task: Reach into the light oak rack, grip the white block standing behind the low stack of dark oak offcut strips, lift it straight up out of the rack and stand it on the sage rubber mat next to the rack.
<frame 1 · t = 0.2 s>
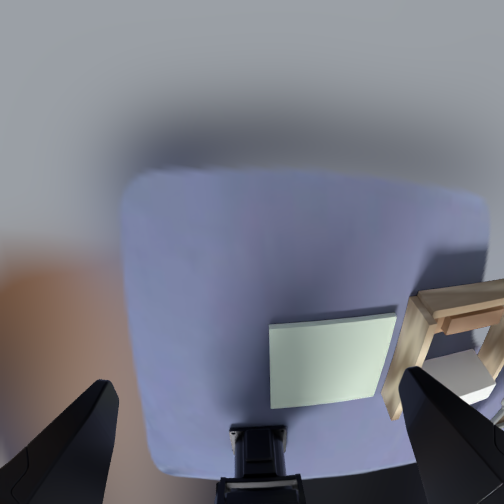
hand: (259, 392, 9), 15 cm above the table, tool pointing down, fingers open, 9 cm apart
offcut stack: (460, 304, 26), resting in rack
white block: (439, 363, 30), on the table
mat: (328, 364, 28), on the table
rack: (449, 340, 28), on the table
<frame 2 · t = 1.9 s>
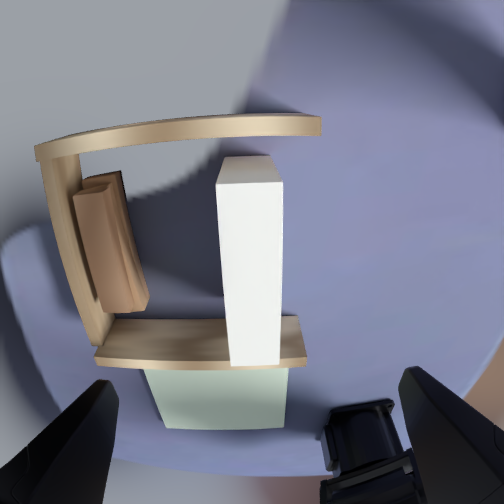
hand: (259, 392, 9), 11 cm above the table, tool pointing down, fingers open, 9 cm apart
offcut stack: (119, 238, 19), resting in rack
white block: (249, 233, 19), on the table
mat: (218, 389, 25), on the table
rack: (189, 236, 19), on the table
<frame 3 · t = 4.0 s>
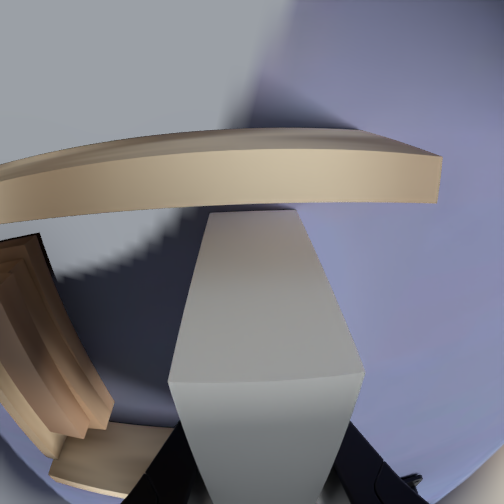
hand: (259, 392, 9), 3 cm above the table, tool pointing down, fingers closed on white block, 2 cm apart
offcut stack: (58, 330, 11), resting in rack
white block: (256, 336, 11), on the table, touching gripper
rack: (157, 338, 11), on the table
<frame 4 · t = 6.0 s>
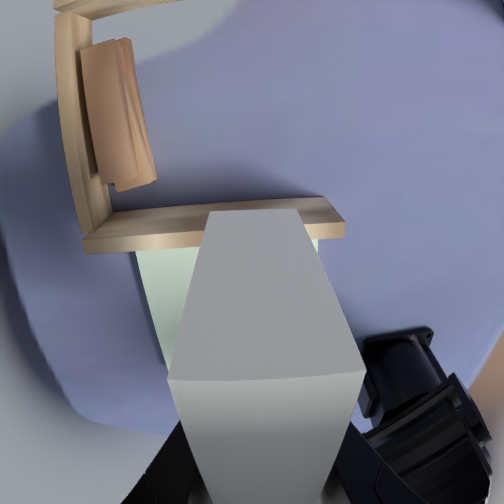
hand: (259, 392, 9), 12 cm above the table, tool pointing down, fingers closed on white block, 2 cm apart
offcut stack: (125, 112, 16), resting in rack
white block: (256, 335, 11), point 9 cm above the table, touching gripper
mat: (232, 309, 22), on the table
rack: (203, 98, 16), on the table
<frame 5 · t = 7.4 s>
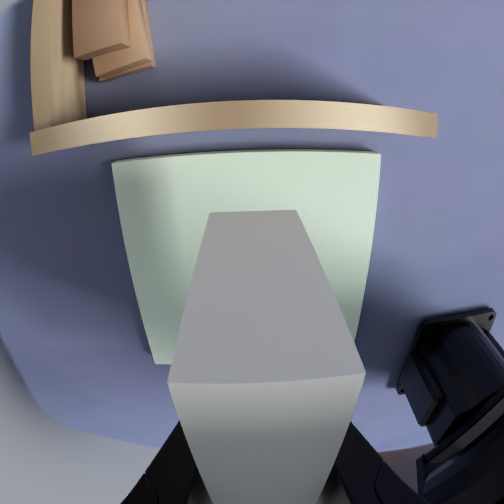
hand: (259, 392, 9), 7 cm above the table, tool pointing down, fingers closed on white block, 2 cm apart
white block: (256, 336, 11), point 5 cm above the table, touching gripper
mat: (250, 270, 15), on the table
when the fingers open (5 cm above the table, at t = 8.4 s): white block drops 1 cm, resting on mat.
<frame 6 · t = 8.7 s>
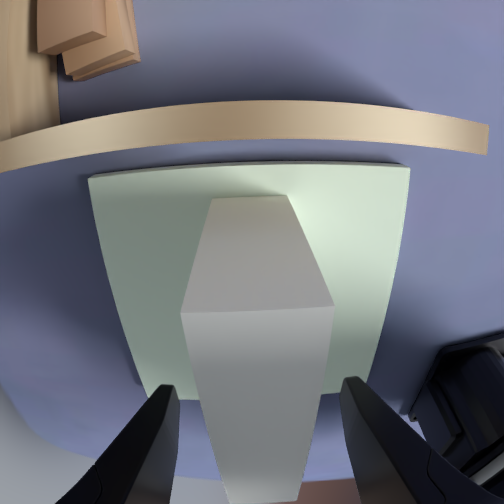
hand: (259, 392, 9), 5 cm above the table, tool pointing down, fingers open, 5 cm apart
white block: (254, 311, 12), point 1 cm above the table, touching mat
mat: (253, 302, 13), on the table
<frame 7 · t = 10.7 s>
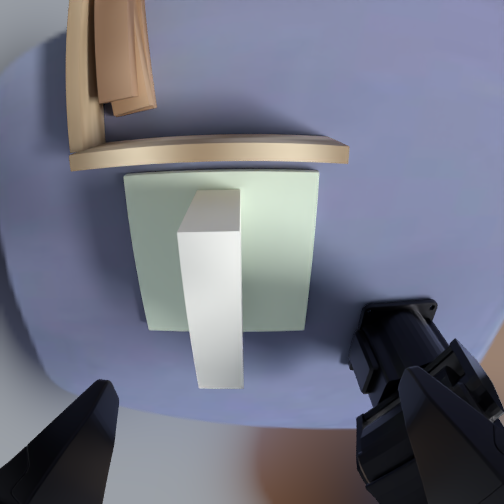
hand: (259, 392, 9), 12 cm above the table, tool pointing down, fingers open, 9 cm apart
offcut stack: (131, 44, 14), resting in rack
white block: (221, 262, 20), point 1 cm above the table, touching mat
mat: (222, 257, 20), on the table
rack: (209, 31, 14), on the table
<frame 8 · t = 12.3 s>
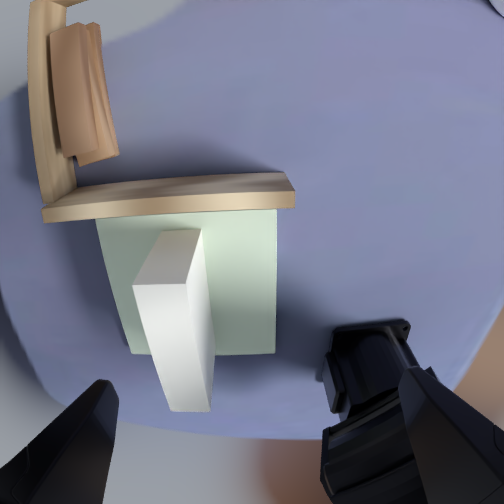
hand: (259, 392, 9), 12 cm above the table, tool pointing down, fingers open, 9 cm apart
offcut stack: (92, 92, 15), resting in rack
white block: (190, 294, 21), point 1 cm above the table, touching mat
mat: (191, 289, 21), on the table
rack: (162, 74, 15), on the table
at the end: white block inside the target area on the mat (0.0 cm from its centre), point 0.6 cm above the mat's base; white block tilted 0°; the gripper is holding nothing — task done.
